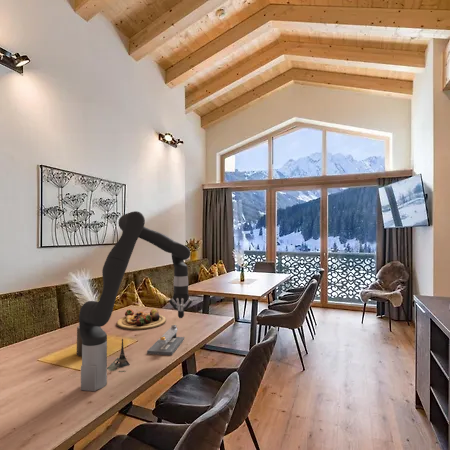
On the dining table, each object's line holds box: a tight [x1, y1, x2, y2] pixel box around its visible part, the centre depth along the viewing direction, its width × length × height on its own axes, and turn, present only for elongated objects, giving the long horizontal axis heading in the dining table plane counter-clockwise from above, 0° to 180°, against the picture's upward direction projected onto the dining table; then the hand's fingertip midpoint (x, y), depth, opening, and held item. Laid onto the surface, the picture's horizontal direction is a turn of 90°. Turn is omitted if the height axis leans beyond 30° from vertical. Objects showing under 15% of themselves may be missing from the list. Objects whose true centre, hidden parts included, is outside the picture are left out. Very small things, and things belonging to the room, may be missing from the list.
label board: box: [146, 336, 185, 356], centre depth 165 cm, size 22×13×2 cm, turn 172°
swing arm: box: [157, 324, 178, 344], centre depth 166 cm, size 21×4×6 cm, turn 172°
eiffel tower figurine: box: [107, 336, 131, 373], centre depth 143 cm, size 15×10×13 cm
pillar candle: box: [75, 325, 82, 358], centre depth 157 cm, size 10×10×15 cm
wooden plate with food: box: [116, 308, 167, 331], centre depth 208 cm, size 32×32×8 cm
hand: (181, 317), depth 161 cm, fingers closed
